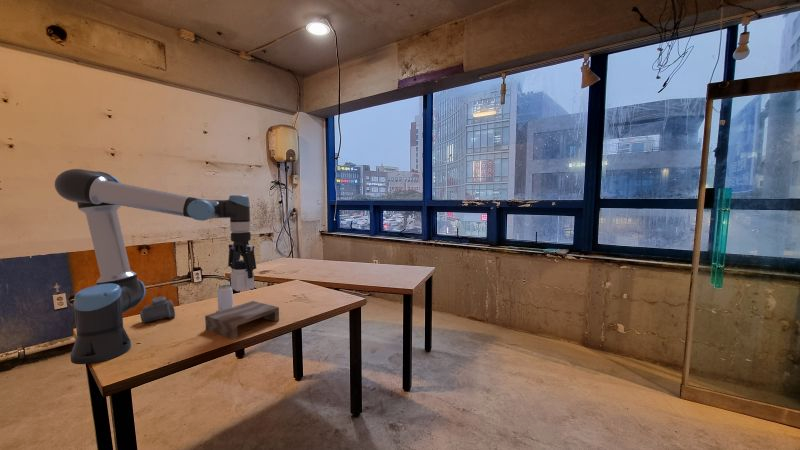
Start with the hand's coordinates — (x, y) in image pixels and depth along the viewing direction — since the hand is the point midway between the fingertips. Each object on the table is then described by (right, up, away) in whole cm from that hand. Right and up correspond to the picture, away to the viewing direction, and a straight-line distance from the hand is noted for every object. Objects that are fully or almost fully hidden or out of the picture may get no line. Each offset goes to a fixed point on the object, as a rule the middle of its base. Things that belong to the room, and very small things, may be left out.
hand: (242, 284), depth 132 cm
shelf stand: (0, -18, +1) cm, 18 cm away
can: (-18, -17, +19) cm, 31 cm away
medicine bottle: (0, -2, 0) cm, 2 cm away
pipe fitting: (-41, -18, +7) cm, 46 cm away
